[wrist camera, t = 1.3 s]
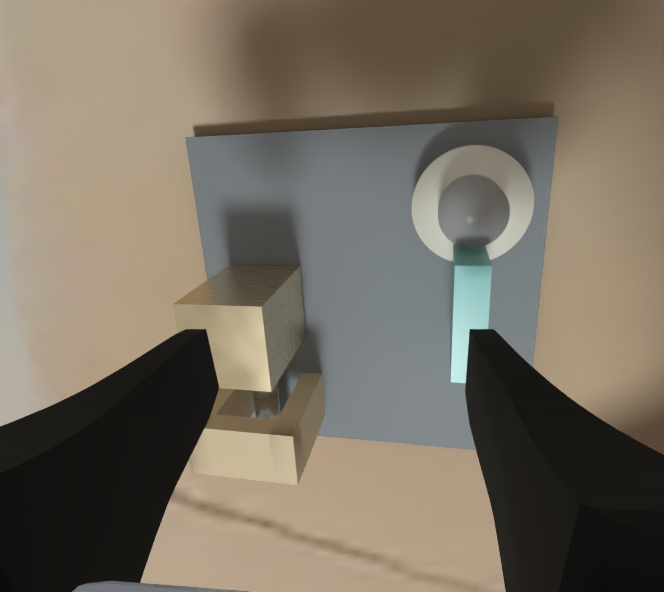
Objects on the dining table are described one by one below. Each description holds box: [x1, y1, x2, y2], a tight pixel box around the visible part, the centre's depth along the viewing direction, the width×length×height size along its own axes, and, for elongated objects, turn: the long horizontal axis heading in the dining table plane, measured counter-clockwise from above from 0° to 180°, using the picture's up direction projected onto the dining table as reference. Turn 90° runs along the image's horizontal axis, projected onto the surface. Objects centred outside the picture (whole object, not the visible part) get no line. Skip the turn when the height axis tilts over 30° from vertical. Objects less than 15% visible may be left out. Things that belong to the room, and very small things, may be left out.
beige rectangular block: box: [173, 265, 306, 420], centre depth 21 cm, size 9×4×5 cm, turn 3°
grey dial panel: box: [186, 117, 558, 485], centre depth 20 cm, size 15×15×6 cm
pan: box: [411, 145, 534, 383], centre depth 17 cm, size 8×4×3 cm, turn 3°
